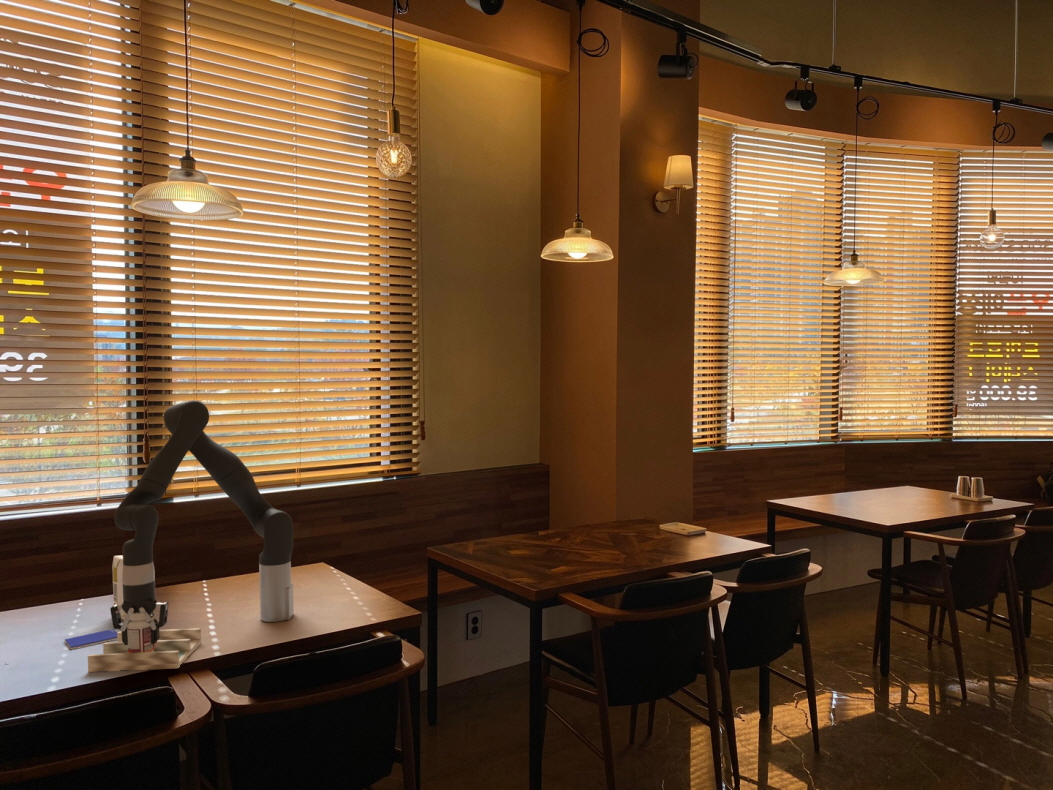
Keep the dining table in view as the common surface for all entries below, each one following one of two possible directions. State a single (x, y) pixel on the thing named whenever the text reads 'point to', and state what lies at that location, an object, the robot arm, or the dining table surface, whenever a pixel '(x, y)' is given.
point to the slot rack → (165, 656)
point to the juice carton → (118, 582)
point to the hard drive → (91, 639)
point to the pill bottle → (139, 634)
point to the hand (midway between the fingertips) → (140, 643)
